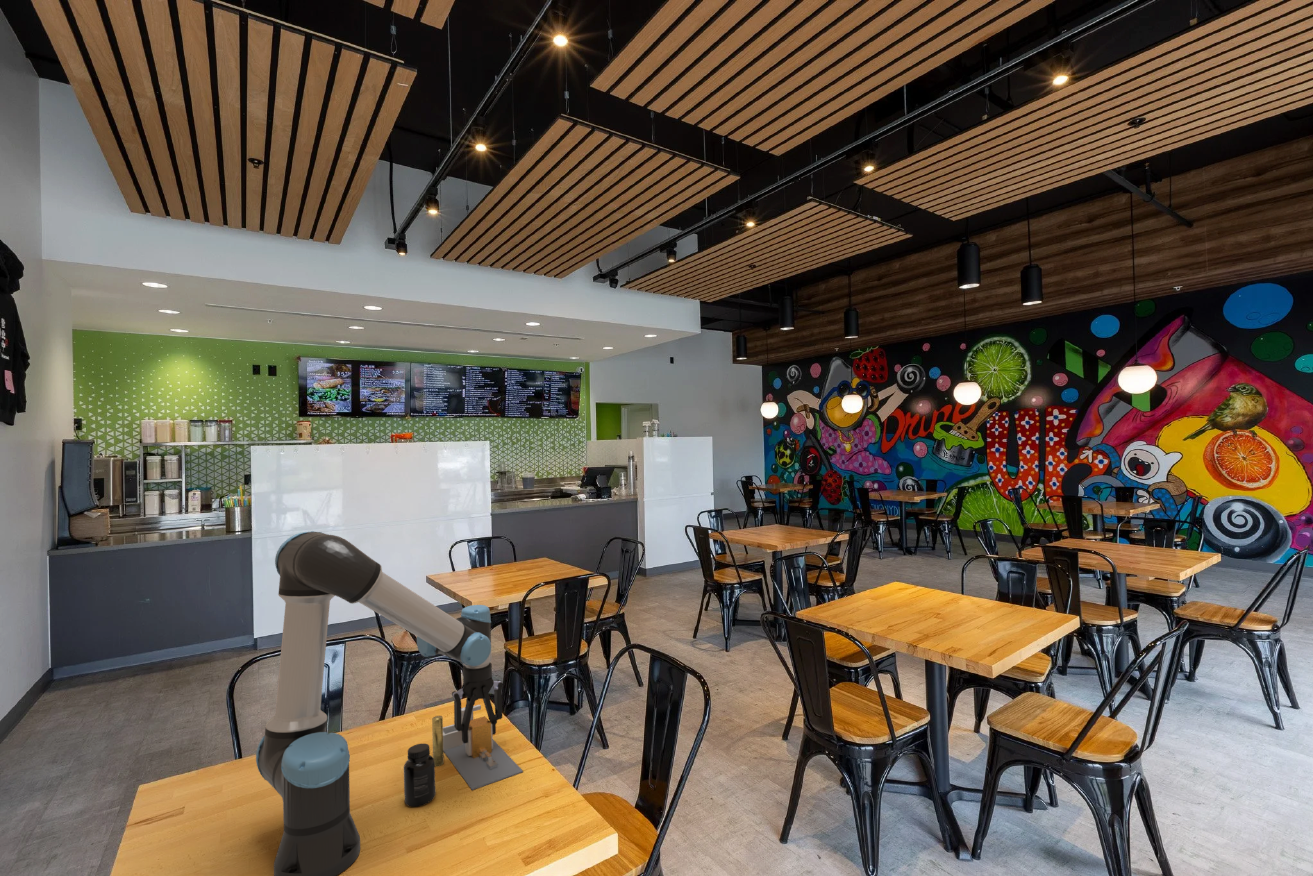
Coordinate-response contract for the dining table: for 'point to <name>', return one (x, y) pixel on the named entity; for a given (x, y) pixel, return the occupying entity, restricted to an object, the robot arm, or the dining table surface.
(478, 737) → the orange block with fittings
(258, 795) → the dining table surface
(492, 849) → the dining table surface
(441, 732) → the pin
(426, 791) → the supplement bottle
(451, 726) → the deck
